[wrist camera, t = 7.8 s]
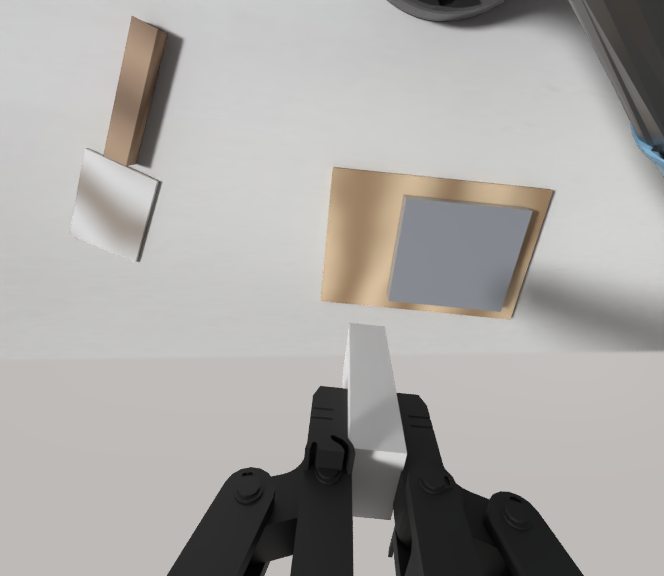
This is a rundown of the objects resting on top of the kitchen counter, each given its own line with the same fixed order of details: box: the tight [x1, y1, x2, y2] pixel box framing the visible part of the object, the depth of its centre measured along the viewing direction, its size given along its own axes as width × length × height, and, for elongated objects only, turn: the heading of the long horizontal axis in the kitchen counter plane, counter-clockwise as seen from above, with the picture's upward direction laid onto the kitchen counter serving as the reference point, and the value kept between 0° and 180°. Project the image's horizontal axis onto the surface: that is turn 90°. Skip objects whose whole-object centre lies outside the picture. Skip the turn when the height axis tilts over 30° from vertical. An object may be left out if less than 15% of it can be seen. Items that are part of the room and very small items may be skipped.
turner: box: [69, 16, 167, 262], centre depth 30 cm, size 18×6×2 cm, turn 155°
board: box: [321, 167, 553, 319], centre depth 33 cm, size 18×12×1 cm, turn 85°
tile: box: [386, 194, 533, 312], centre depth 32 cm, size 2×9×10 cm
